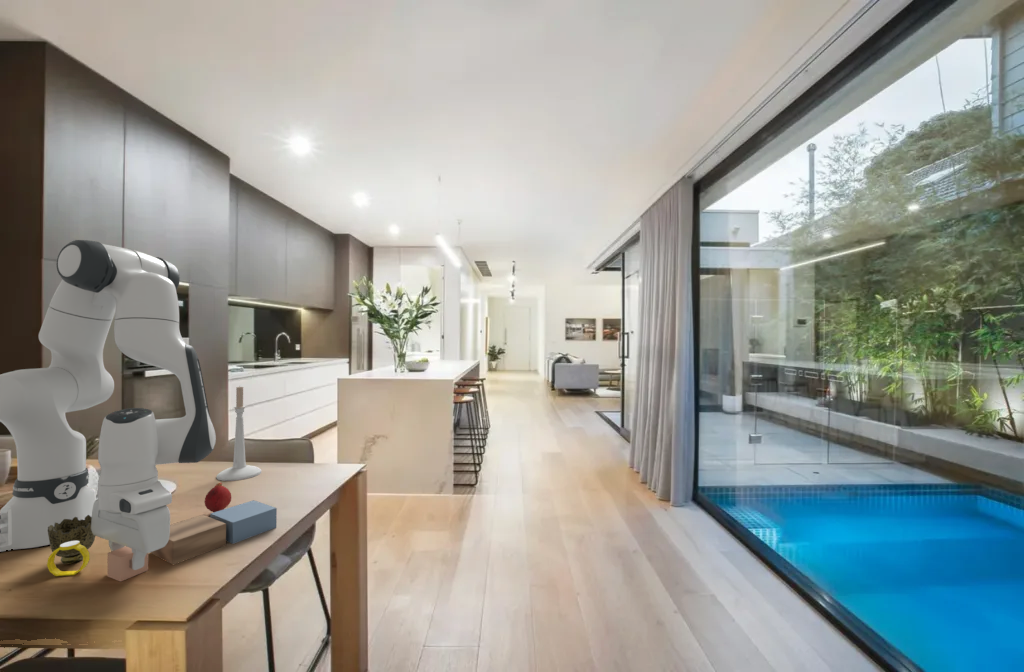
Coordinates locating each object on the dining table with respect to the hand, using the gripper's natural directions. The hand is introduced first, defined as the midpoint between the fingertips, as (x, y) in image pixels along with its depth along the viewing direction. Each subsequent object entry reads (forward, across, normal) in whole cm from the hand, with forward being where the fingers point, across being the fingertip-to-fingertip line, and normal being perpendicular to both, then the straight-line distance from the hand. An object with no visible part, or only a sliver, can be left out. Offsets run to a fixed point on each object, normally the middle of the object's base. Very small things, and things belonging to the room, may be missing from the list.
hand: (128, 564), depth 86 cm
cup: (+2, -16, -2) cm, 16 cm away
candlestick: (+2, -41, +50) cm, 65 cm away
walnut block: (+2, 0, +11) cm, 11 cm away
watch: (+2, -10, -5) cm, 11 cm away
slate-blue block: (+2, +2, +22) cm, 22 cm away
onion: (+2, -14, +26) cm, 30 cm away
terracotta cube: (+2, 0, 0) cm, 2 cm away
